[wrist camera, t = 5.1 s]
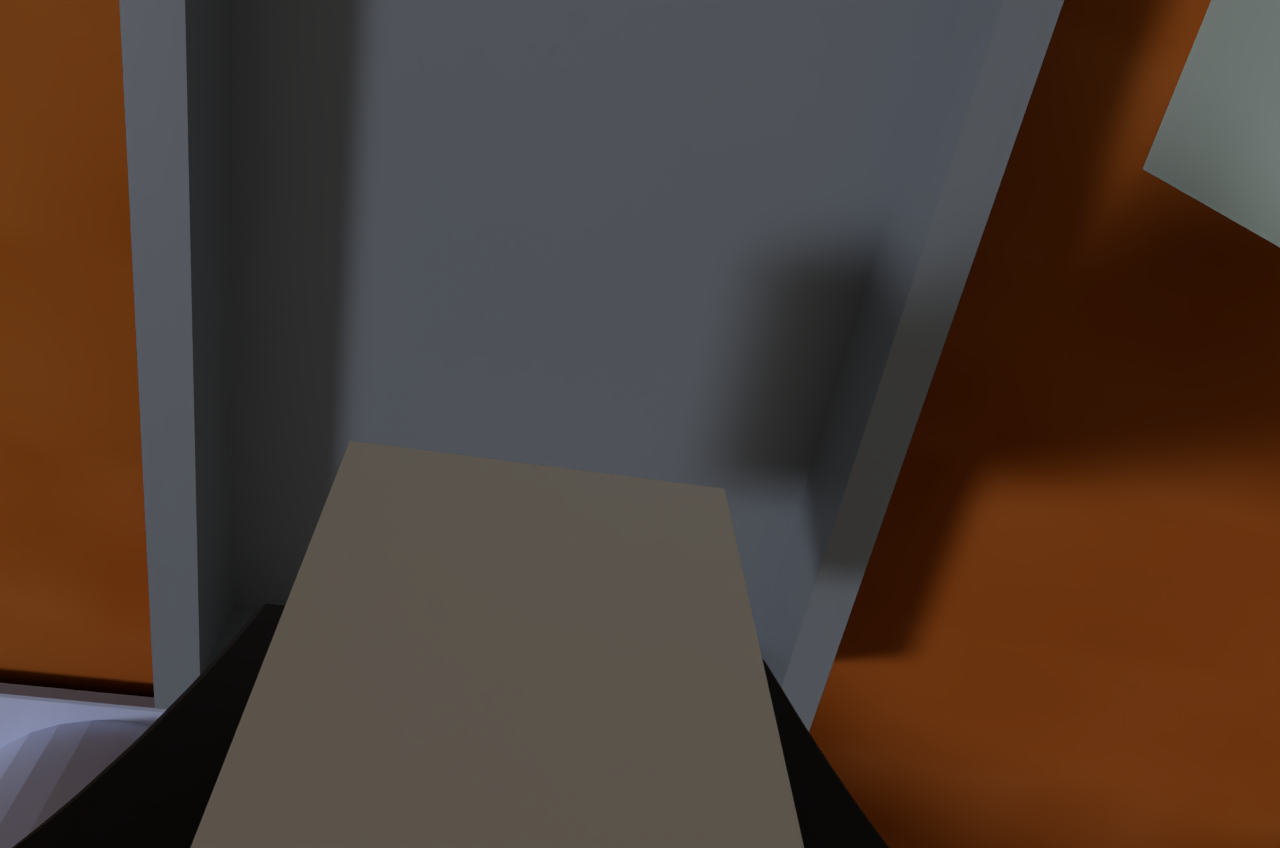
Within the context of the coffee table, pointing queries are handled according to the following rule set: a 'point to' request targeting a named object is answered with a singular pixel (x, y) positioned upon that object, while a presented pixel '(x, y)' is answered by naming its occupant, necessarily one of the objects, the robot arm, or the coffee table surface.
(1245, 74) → the sage block
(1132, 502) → the coffee table surface
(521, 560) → the cream block
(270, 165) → the grey tray
